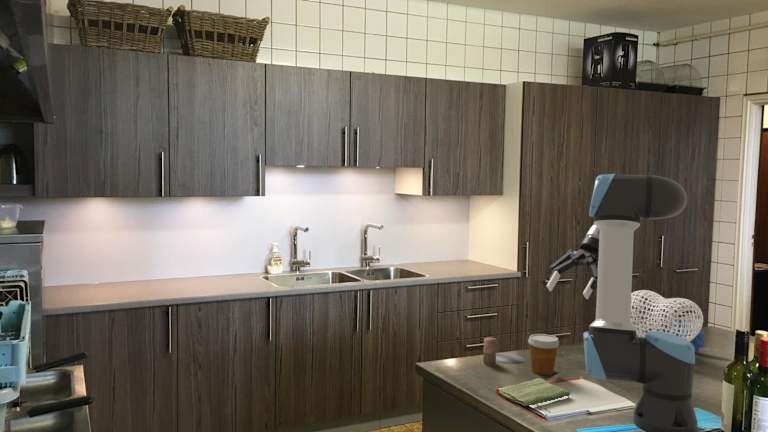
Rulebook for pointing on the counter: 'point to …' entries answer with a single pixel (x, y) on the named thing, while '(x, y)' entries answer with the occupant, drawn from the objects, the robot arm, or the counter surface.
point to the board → (508, 359)
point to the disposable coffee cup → (543, 353)
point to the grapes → (697, 340)
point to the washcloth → (533, 392)
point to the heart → (662, 302)
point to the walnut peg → (489, 351)
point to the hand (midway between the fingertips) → (566, 292)
